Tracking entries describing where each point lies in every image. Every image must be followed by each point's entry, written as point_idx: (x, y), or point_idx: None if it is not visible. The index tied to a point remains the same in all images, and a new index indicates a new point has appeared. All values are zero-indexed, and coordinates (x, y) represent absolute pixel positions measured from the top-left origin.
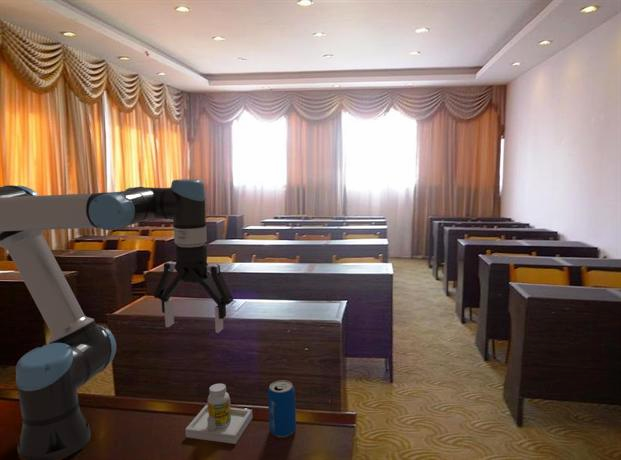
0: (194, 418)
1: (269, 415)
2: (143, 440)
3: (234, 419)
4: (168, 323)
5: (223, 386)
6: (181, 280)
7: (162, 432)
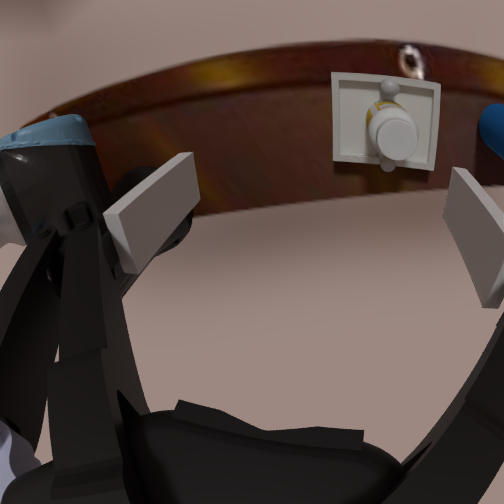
0: (333, 125)
1: (494, 147)
2: (263, 174)
3: (410, 106)
4: (192, 203)
5: (411, 135)
6: (138, 408)
7: (282, 148)
